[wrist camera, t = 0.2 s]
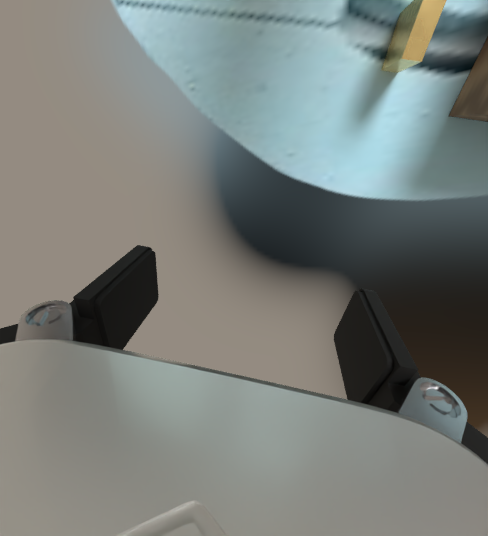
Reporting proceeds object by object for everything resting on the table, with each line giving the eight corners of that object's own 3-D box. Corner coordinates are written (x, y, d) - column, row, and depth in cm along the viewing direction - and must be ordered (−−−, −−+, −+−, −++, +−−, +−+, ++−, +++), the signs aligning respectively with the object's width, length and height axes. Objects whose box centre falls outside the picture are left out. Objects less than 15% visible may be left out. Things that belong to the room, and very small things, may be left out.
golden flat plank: (400, 13, 26) (427, -14, 21) (418, 15, 26) (450, -11, 21) (381, 70, 29) (401, 58, 24) (397, 72, 29) (421, 61, 24)
